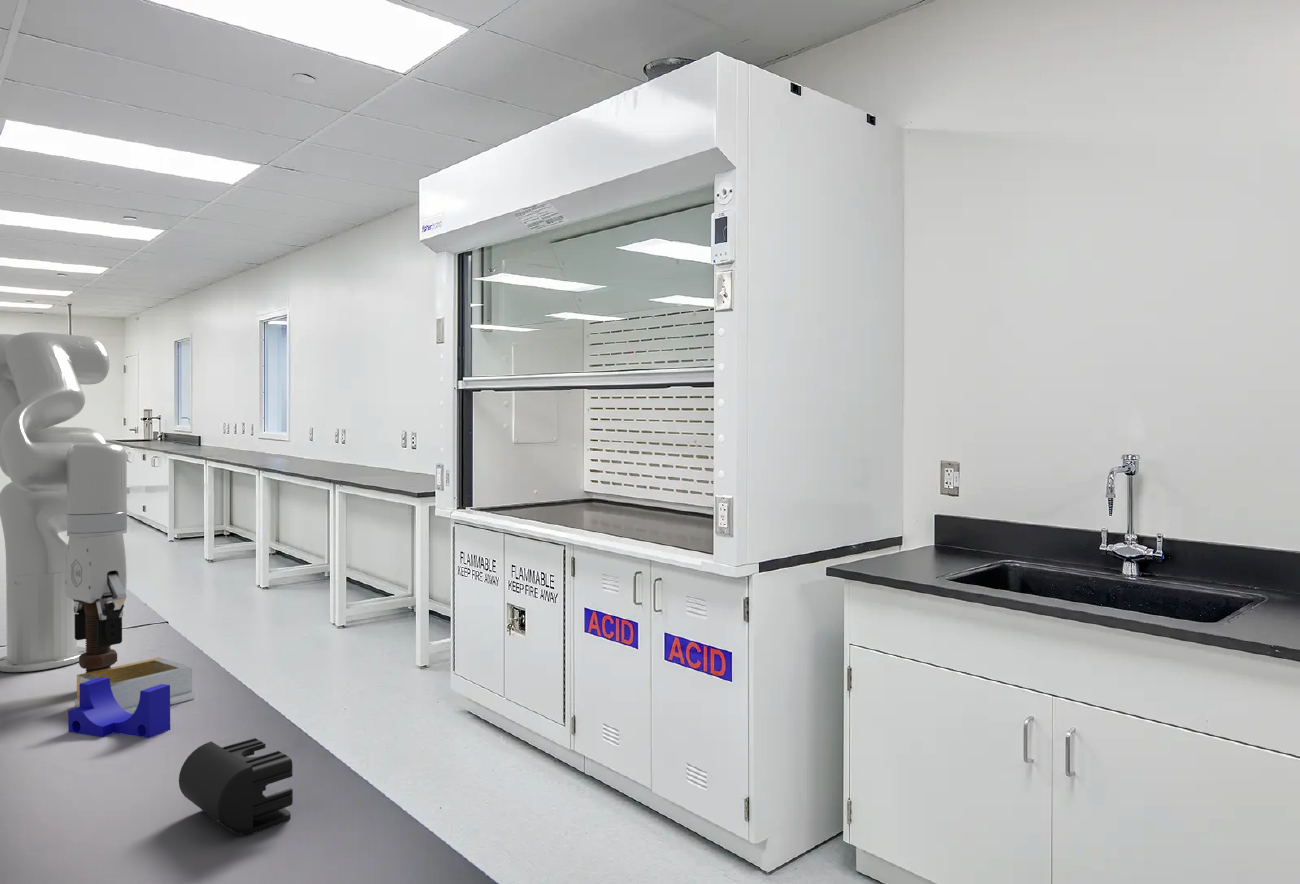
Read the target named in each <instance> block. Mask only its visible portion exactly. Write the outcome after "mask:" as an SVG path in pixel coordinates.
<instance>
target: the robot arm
mask: <svg viewBox="0 0 1300 884" xmlns="http://www.w3.org/2000/svg"><path fill="white" fill-rule="evenodd" d="M109 370H110V357H109V355H108V352H107V349H106V347H105V346H104V344H102V343H101V341H99V340H98V339H96V338H95V337H92V336H86V335H85V336H84V335H77V334H76V335H75V334H66V333H65V334H64V333H54V332H41V331H30V332H24V333H20V334H9V333H0V470H1V471H2V473H4V475H5V476H6V477H8V478H10V481H11V482H9V483H7V484H6V485H5V486H4V487H2V489H1V490H0V522H1V527H2V533H3V537H4V549H5V578H6V579H5V581H6V582H5V584H6V586H5V587H6V588H5V589H6V590H5V591H6V593H5V594H6V595H5V596H6V601H5V604H6V611H5V612H6V618H5V619H6V655H5V656H2V657H0V672H2V673H3V672H6V673H25V672H26V673H27V672H36V671H43V670H49V669H54V668H55V669H56V668H59V667H61V668H62V667H65V666H69V665H72V664H75V663H79V656H80V655H81V654H83V653H85V652H86V651H85V650H86V647H83V646H78V641H83V640H86V637H85V636H86V635H85V634H87V633H85V632H86V631H85V630H86V629H85V628H86V626H85V625H86V624H85V623H86V622H85V621H86V620H85V619H86V618H85V616H86V615H85V612H84V604H80V603H78V602H76V601H75V600H80V601H83V602H86V603H94V602H95V601H96V604H97V609H98V613H99V618H100V620H97V646H98V647H104V646H110V645H111V646H113V645H119V644H122V642H123V617H124V607H125V602H126V599H127V593H126V592H127V583H128V582H127V581H128V580H127V576H128V573H127V558H126V548H125V537H124V534H128V510H127V507H128V506H127V503H128V502H127V498H128V497H127V496H128V495H127V494H128V493H127V492H128V491H127V490H128V489H127V488H128V487H127V485H128V484H127V481H128V480H127V479H128V477H127V476H128V475H127V474H128V473H127V472H128V471H127V466H128V465H127V464H128V463H127V452H126V449H125V448H124V447H123V446H122V445H120V444H116V443H108V442H107V441H106V438H105V437H104V436H103V435H102V433H100V432H99V431H97V430H95V429H92V428H89V427H81V426H80V427H76V426H75V427H74V426H73V427H70V426H69V427H68V426H56V425H59V424H62V423H65V422H66V421H67V422H68V421H70V420H71V419H72V418H74V417H76V416H77V415H78V414H80V412H81V411H82V410H83V409H84V406H85V404H86V397H85V394H84V391H83V389H82V386H81V385H90V386H91V385H97V384H100V383H101V382H103V381H104V380H105V379H106V378H107V376H108V374H109V372H110V371H109ZM63 532H66V537H68V542H67V543H66V541H64V540H63V539H62V538H61V537H60V535H59V533H63ZM106 595H112V597H108V598H102V596H106ZM107 603H109V604H108V606H107V608H106V610H105V605H104V604H107Z"/></svg>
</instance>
